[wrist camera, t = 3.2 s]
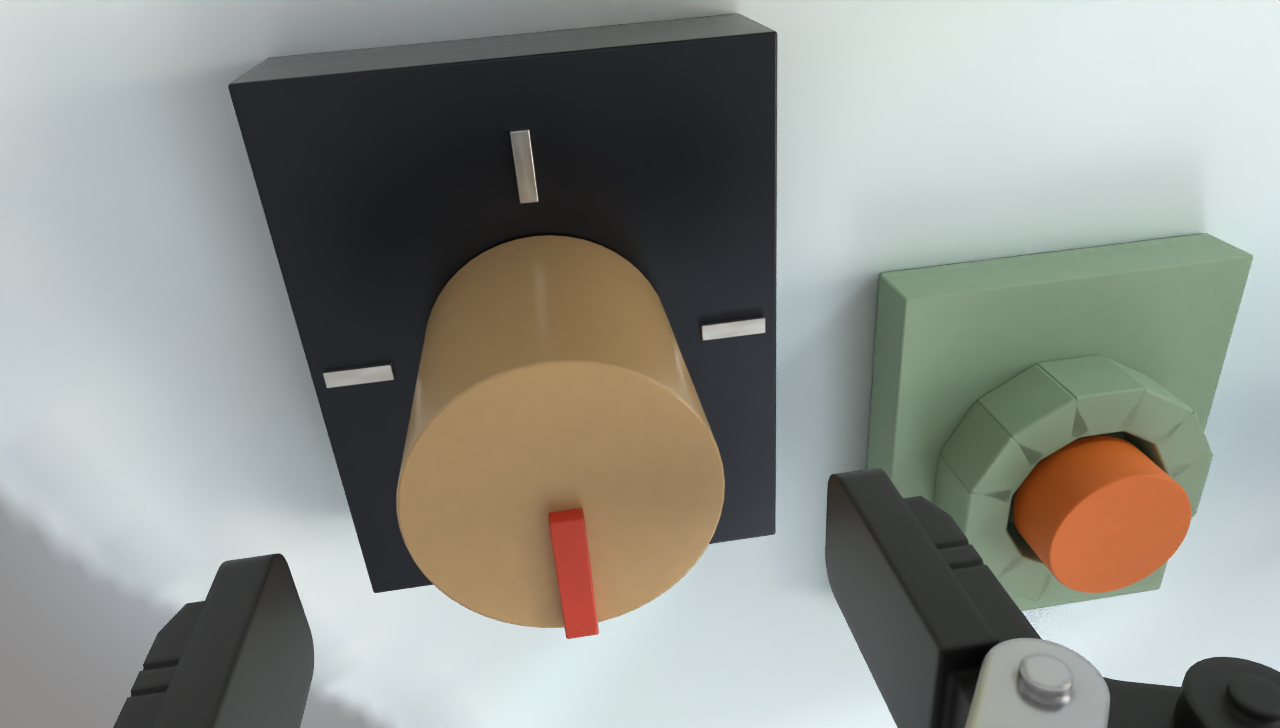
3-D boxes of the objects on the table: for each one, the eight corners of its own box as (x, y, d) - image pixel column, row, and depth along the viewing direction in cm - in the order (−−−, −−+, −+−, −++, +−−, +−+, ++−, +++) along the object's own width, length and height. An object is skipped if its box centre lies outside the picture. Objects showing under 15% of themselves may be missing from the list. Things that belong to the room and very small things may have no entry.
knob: (401, 250, 17) (359, 396, 12) (662, 220, 18) (725, 349, 13) (448, 466, 20) (428, 663, 15) (675, 435, 20) (733, 617, 15)
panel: (266, 57, 18) (223, 86, 15) (739, 13, 19) (780, 32, 16) (387, 517, 24) (372, 599, 21) (747, 467, 25) (777, 538, 22)
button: (1022, 445, 22) (1061, 486, 20) (1158, 426, 22) (1208, 465, 20) (1003, 557, 23) (1038, 603, 22) (1130, 537, 24) (1173, 582, 22)
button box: (878, 272, 22) (937, 331, 19) (1207, 231, 23) (1314, 282, 20) (857, 595, 28) (902, 682, 24) (1126, 553, 28) (1201, 632, 25)
